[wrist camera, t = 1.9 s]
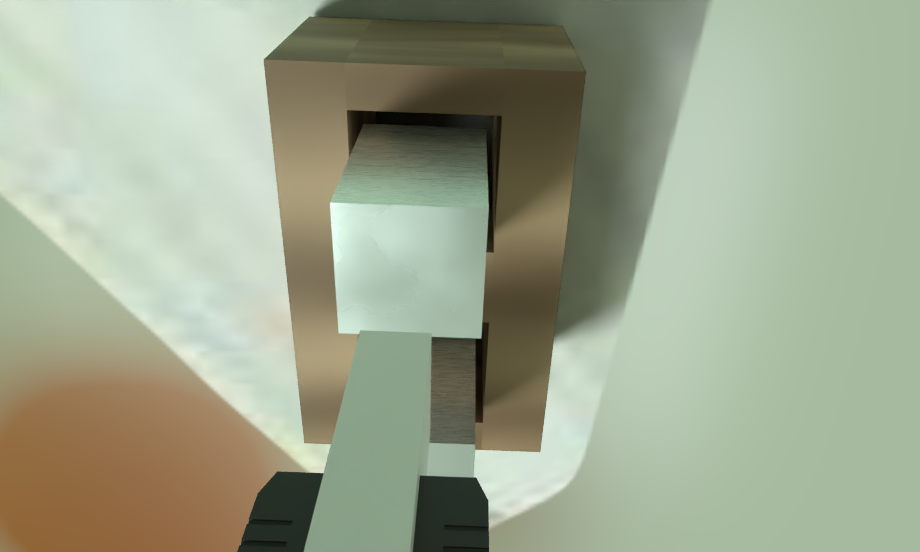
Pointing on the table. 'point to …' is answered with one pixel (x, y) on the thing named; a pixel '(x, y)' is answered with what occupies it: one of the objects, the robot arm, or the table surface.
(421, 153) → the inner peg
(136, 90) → the table surface
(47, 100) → the table surface
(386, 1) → the table surface
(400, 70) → the wooden peg hole block
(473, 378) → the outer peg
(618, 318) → the table surface
